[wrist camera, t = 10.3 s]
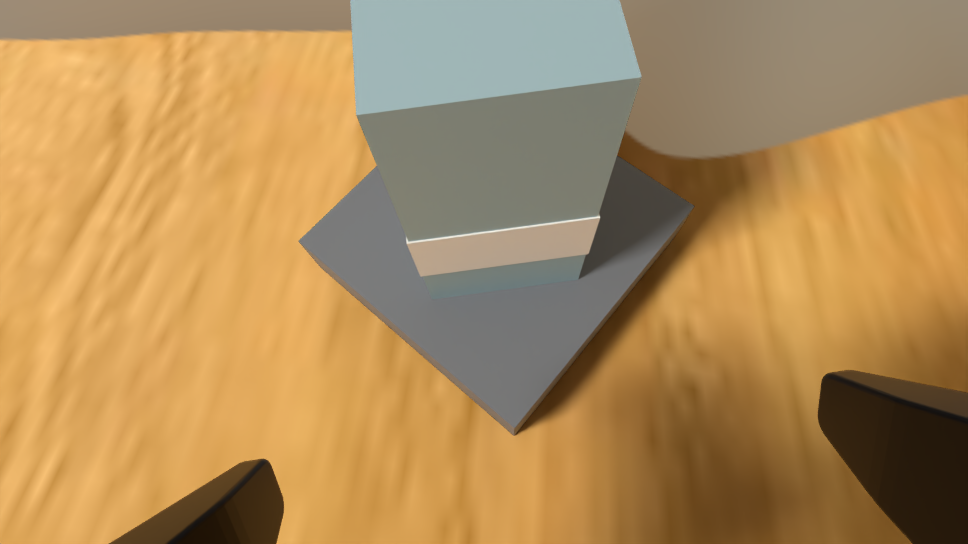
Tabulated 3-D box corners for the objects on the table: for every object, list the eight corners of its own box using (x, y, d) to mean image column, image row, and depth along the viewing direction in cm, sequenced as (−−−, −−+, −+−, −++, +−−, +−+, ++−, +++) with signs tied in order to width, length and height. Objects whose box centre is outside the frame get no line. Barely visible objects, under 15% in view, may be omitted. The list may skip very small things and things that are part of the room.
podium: (675, 236, 22) (694, 206, 20) (513, 435, 20) (514, 428, 17) (483, 105, 25) (480, 66, 23) (320, 267, 22) (298, 241, 20)
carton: (579, 280, 19) (644, 79, 10) (430, 300, 19) (354, 117, 10) (554, 153, 21) (587, -117, 12) (418, 172, 21) (343, -85, 12)
